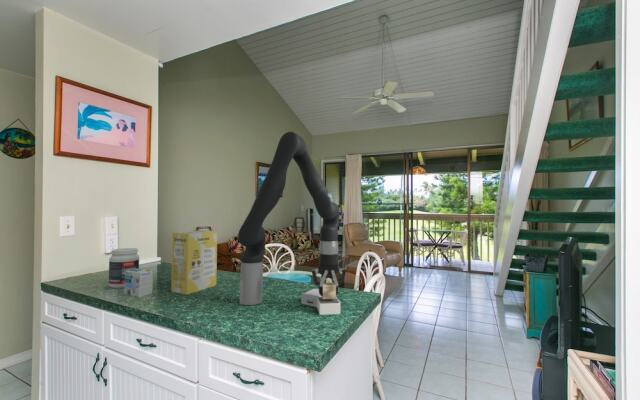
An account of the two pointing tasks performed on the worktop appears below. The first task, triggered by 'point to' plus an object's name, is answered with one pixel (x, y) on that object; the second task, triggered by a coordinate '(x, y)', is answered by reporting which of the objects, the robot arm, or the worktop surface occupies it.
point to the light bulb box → (138, 282)
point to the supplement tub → (122, 265)
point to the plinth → (328, 306)
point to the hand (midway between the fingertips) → (328, 295)
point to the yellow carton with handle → (193, 261)
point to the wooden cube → (329, 291)
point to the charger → (310, 297)
